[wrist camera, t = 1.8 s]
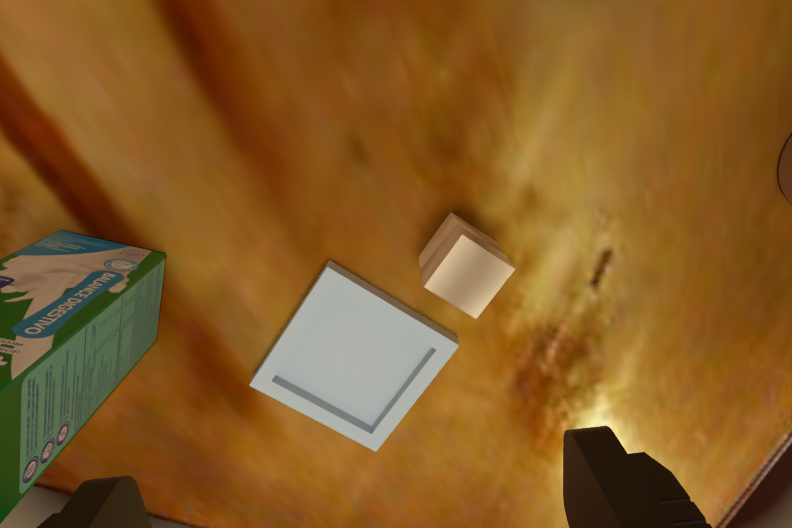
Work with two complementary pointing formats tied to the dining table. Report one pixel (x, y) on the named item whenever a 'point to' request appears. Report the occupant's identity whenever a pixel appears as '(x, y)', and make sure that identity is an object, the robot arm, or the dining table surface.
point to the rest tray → (353, 357)
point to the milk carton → (67, 343)
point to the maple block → (464, 266)
